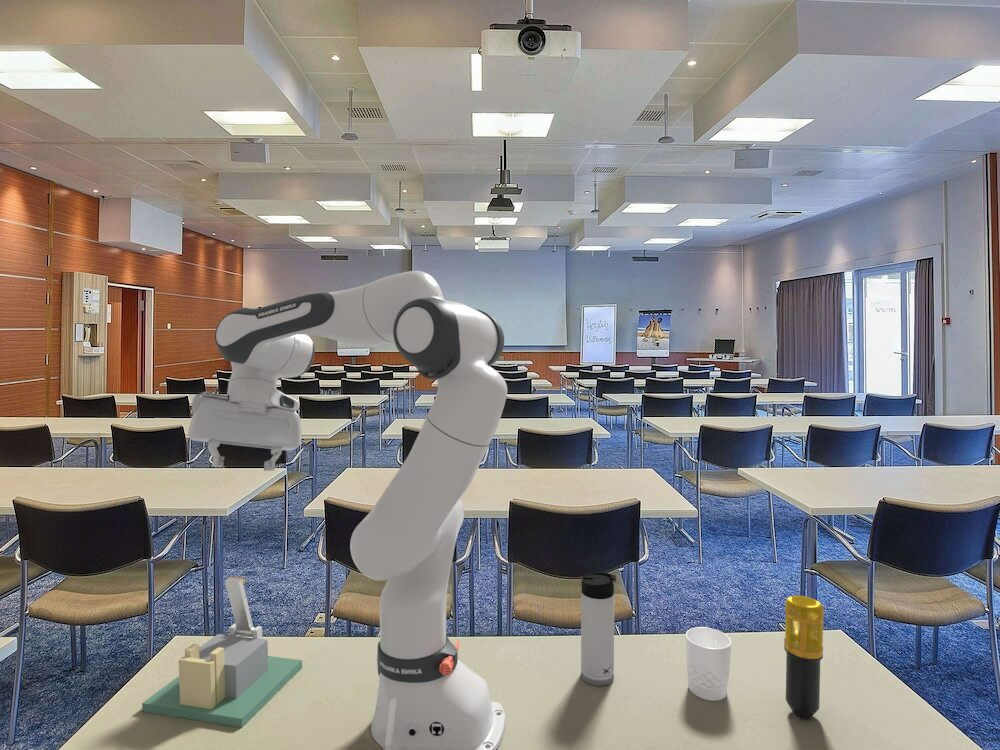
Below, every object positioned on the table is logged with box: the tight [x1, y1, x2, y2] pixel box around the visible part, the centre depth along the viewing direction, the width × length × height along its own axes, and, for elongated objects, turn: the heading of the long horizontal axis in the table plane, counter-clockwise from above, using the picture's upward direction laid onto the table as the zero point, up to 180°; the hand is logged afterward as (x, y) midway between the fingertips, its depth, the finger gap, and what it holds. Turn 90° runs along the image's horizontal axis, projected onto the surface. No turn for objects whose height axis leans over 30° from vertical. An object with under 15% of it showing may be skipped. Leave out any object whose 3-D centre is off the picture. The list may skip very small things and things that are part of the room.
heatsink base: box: [141, 623, 303, 728], centre depth 104 cm, size 20×18×10 cm
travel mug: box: [580, 571, 617, 687], centre depth 107 cm, size 6×7×20 cm
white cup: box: [685, 626, 732, 702], centre depth 103 cm, size 8×8×10 cm
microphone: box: [783, 595, 825, 720], centre depth 96 cm, size 6×13×20 cm, turn 99°
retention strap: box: [224, 576, 255, 638], centre depth 107 cm, size 4×13×2 cm
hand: (244, 468), depth 105 cm, fingers open, 8 cm apart
